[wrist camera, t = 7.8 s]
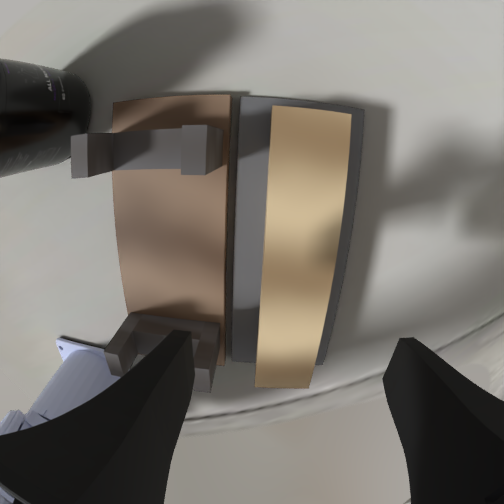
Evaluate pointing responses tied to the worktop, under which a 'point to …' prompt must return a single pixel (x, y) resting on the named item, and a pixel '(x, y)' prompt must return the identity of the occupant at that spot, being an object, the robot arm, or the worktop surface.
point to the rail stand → (167, 222)
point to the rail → (300, 240)
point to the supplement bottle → (39, 115)
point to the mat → (254, 212)
